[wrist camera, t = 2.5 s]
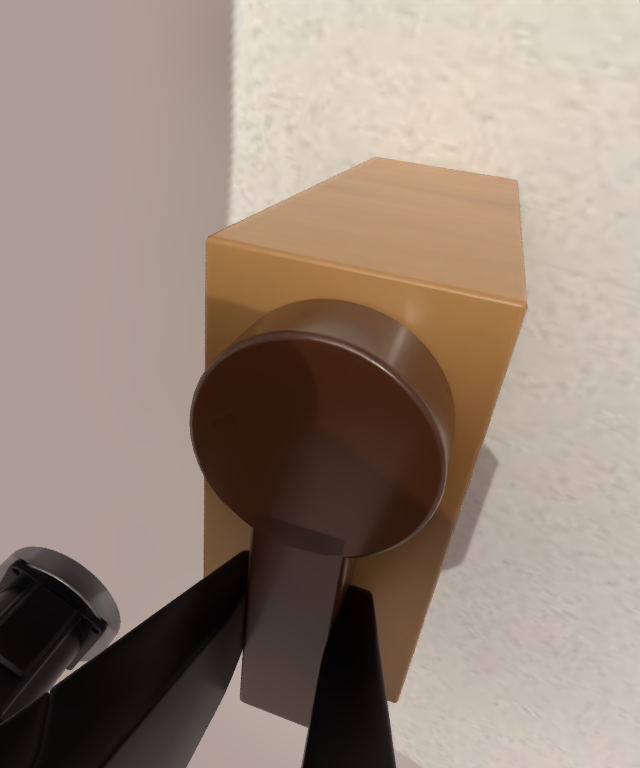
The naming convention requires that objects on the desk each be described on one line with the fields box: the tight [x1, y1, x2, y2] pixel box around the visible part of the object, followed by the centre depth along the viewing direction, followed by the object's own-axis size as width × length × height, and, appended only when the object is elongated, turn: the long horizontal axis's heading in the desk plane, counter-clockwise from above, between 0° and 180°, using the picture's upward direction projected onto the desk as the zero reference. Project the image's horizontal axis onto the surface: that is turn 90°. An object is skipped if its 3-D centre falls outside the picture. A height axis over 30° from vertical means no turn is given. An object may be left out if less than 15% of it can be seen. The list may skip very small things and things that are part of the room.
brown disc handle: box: [190, 299, 455, 728], centre depth 8 cm, size 7×3×1 cm, turn 173°
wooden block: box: [204, 157, 527, 703], centre depth 13 cm, size 8×4×10 cm, turn 173°
